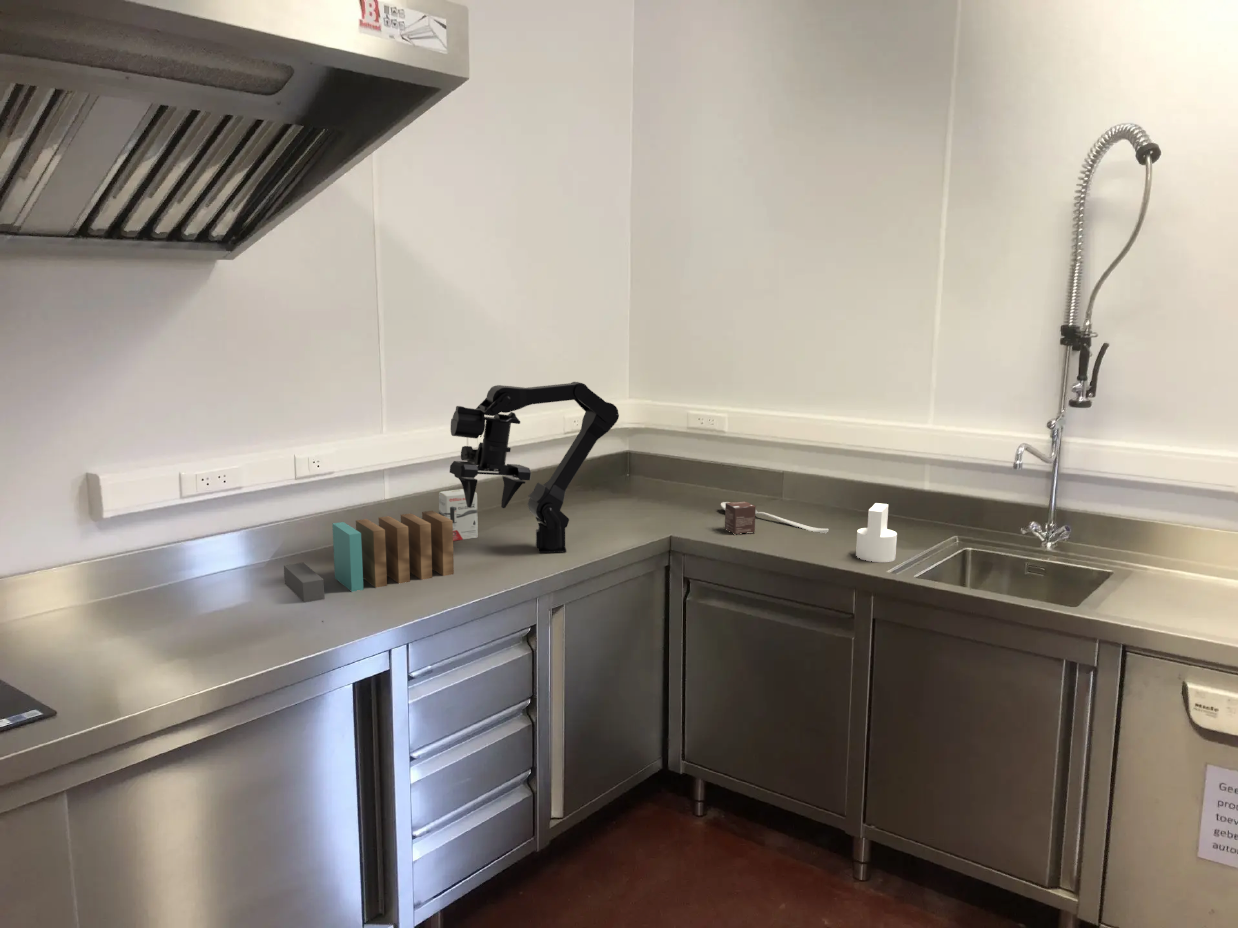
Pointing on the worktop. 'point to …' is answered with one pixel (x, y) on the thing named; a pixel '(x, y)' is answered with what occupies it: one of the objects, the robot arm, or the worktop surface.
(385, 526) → the domino
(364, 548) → the domino
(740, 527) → the box
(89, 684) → the worktop surface
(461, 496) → the ink box
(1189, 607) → the worktop surface
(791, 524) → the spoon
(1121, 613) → the worktop surface
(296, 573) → the block
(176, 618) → the worktop surface
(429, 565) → the domino
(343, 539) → the domino
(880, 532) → the cylinder with rectangular tab
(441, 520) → the domino
